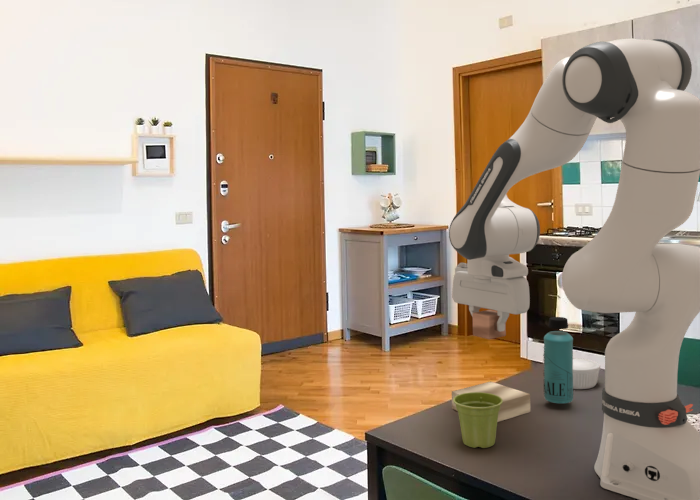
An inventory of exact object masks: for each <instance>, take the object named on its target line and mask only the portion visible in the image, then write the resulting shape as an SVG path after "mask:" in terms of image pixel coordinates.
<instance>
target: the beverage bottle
mask: <svg viewBox="0 0 700 500" xmlns="http://www.w3.org/2000/svg"><path fill="white" fill-rule="evenodd" d="M548 319H549V320H548V328H550V329H554V330H553V331H549V332H547V333H546V334H545V335H544V336H543V354H542V357H543V359H542V360H543V370H542V372H543V373H542V374H543V397H544V400H545V401H547V402H550V403H554V404H568V403H571V402H573V399H574V389H573V358H574V356H573V354H574V353H573V352H574V349H573V348H574V344H573V343H574V338H573V336H572V335H571V334H570V333H568V332H566V331H563V330H566V329H568V328H569V324H568V318H566V317H564V316H553V317H550V318H548ZM559 330H560V331H559Z"/></svg>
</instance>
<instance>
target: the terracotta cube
mask: <svg viewBox="0 0 700 500" xmlns="http://www.w3.org/2000/svg"><path fill="white" fill-rule="evenodd" d="M499 317H500V316H498V314H497V311H496V310H491V309H487V310H481V311H480V310H479V312H475V313H473V317H472V336H474V337H479V338H482V339H487V340H493V339H498V338H502V337H505V336H507V331H506V330H507V329H506V328H507V327H506V326H507V325H506V324H507V321H506V322H505V330H504V331H501V332H500V331H495V330H494V327H495V326H494V323H496V322H498V319H499Z"/></svg>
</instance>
